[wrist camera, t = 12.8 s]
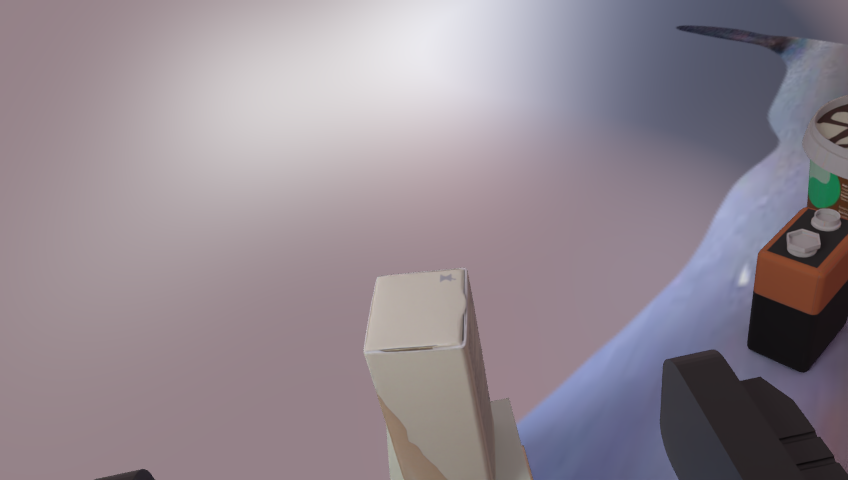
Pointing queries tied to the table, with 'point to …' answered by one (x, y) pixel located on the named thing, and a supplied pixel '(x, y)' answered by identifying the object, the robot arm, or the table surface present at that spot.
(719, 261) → the table surface
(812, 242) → the battery
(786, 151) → the table surface
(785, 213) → the table surface
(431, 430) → the box
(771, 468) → the robot arm
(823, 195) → the food container
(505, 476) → the tower top
